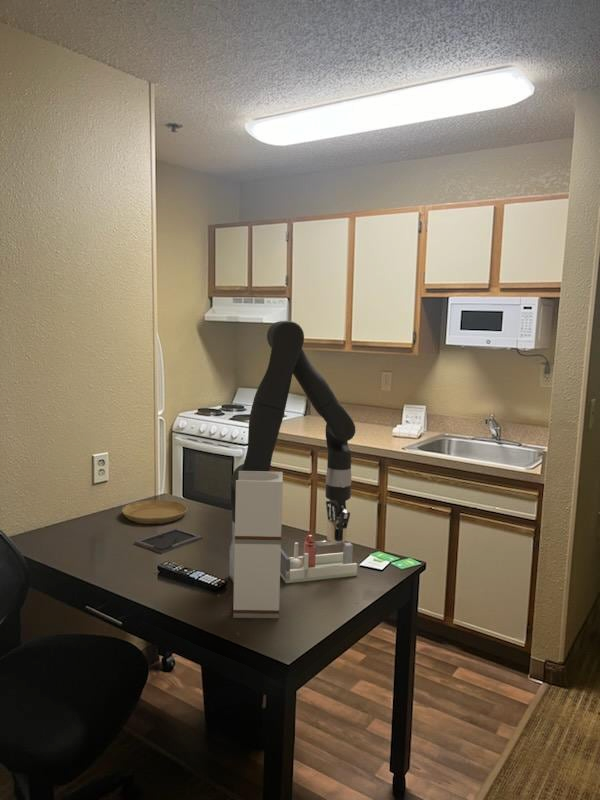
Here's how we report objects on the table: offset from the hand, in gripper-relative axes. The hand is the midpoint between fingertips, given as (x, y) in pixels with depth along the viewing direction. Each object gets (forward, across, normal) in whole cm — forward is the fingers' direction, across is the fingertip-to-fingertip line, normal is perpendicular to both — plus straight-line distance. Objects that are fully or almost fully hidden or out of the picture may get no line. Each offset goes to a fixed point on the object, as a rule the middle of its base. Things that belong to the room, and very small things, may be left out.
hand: (336, 538), depth 183 cm
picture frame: (+11, -37, -45) cm, 59 cm away
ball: (+7, 0, -13) cm, 15 cm away
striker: (+8, 0, -4) cm, 9 cm away
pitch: (+10, 0, -6) cm, 12 cm away
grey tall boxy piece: (+10, +18, -29) cm, 36 cm away
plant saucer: (+10, -66, -47) cm, 82 cm away
